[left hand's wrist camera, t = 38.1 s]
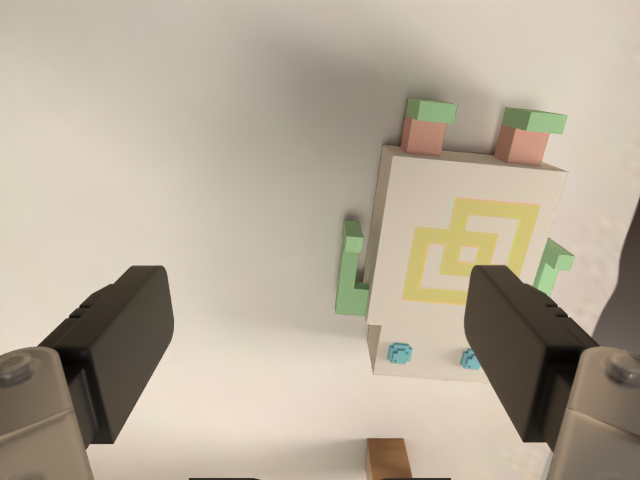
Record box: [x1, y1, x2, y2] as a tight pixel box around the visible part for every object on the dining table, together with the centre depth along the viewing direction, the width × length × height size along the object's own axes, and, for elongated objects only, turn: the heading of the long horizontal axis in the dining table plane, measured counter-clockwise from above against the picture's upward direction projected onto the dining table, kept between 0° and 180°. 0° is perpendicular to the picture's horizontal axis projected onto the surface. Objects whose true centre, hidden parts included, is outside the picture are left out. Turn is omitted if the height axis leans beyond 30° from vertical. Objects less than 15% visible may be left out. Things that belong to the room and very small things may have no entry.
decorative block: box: [335, 98, 575, 383], centre depth 39 cm, size 26×6×20 cm
